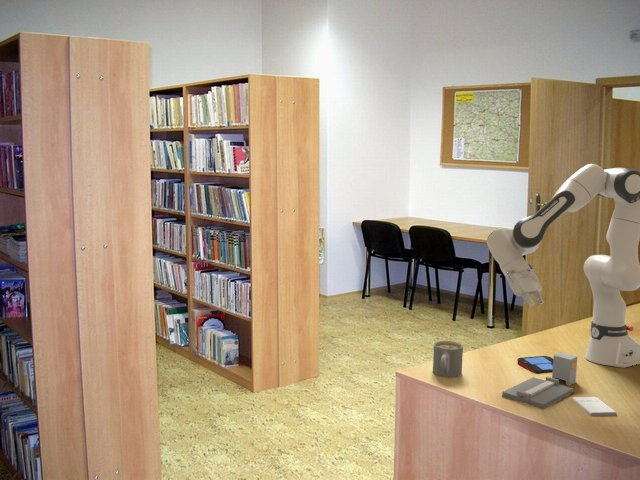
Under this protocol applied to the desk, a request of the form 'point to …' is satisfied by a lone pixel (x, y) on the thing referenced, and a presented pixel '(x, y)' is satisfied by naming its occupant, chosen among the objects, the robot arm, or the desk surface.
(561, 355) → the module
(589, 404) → the external hard drive
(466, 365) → the desk surface
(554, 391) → the rail mount
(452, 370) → the coffee mug
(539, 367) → the game console
